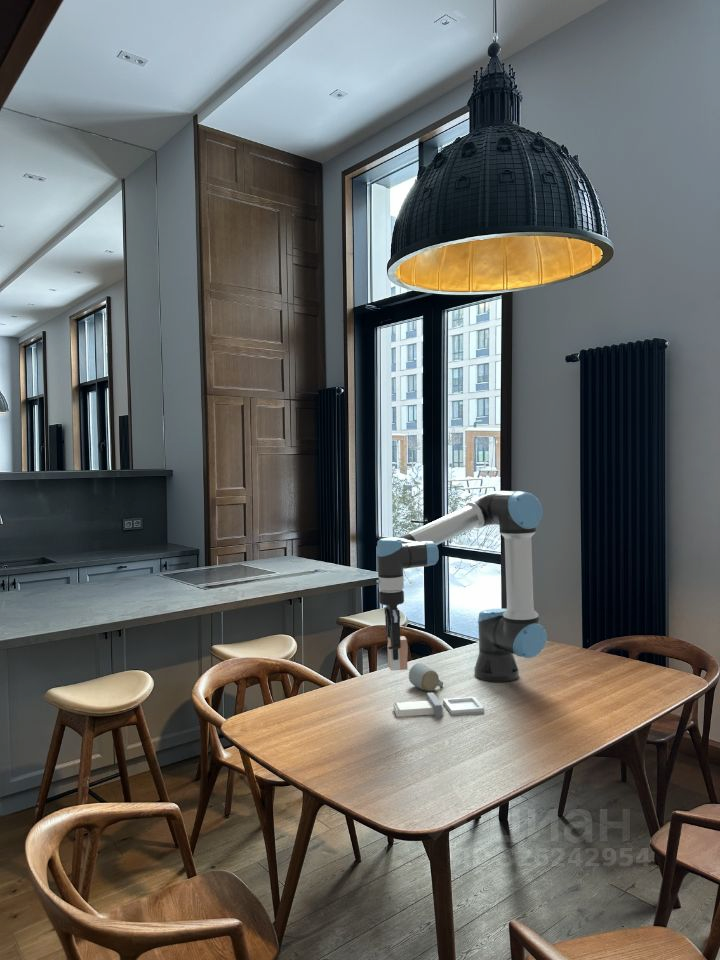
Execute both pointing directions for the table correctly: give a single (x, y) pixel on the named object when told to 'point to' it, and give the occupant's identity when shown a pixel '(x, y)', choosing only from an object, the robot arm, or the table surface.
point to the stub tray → (463, 705)
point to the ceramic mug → (424, 677)
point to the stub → (403, 653)
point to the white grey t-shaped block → (420, 707)
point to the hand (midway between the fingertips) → (394, 667)
